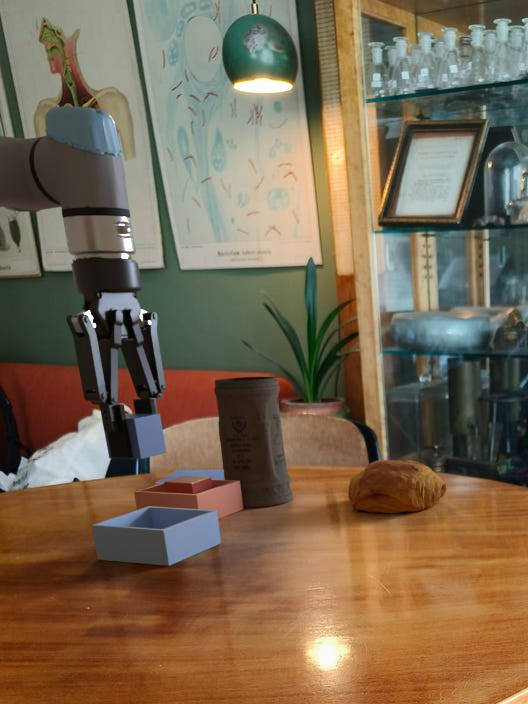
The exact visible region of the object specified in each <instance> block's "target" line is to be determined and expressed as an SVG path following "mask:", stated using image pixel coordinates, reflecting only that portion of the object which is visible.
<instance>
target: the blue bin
mask: <svg viewBox="0 0 528 704" xmlns="http://www.w3.org/2000/svg"><path fill="white" fill-rule="evenodd" d="M90 527H91V532H92V537H93V542H94V547H95V554H96V559H97V561H107V562H108V561H109V562H118V563H119V562H121V563H133V564H142V565H152V566H153V565H154V566H165V567H170V566H173V565H175V564H177V563H179V562H182V561H184V560H186V559H188V558H190V557H193V556H195V555H197V554H200V553H202V552H206V551H207V550H210V549H211V548H214V547H216V546H218V545H221V544H222V539H221V532H220V524H219V519H218V516H217V511H215V510H200V509H184V508H168V507H153V506H148V507H145V508H142V509H139V510H137V509H136V510H134V511H131V512H127V513H124V514H121V515H118V516H115V517H112V518H108V519H106V520H102V521H100V522H96V523H93V524H91V525H90Z"/></svg>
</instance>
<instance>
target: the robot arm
mask: <svg viewBox="0 0 528 704" xmlns="http://www.w3.org/2000/svg"><path fill="white" fill-rule="evenodd" d="M44 119H45V130H44V131H45V134H46V135H43V136H39V137H38V136H37V137H31V138H30V137H29V138H21V137H13V136H5V135H0V208H4V209H6V210H8V211H13V212H21V213H22V212H23V213H24V212H29V213H38V212H40V211H43V210H44V211H45V210H50V209H57V208H61V209H60V210H61V216H62V223H63V227H64V234H65V239H66V243H67V244H66V245H67V249H68V250H67V251H68V254H70V255H71V256H74V258H75V259H74V260H72V262H71V263H70V266H71V270H72V271H71V272H72V276H73V281H74V282H73V283H74V287H75V290H76V292H77V293H79V294H82V297H83V301H82V303H83V304H82V310H81V311H80V312H78V313H76V314H67V316H66V319H65V321H66V323H67V326H68V328H69V330H70V333H71V335H72V339H73V343H74V350H75V355H76V361H77V367H78V372H79V377H80V383H81V388H82V395H83V398H84V400H85V401H87V402H90V403H91V405H93V406H99V410H100V416H101V422H102V427H103V431H104V430H105V432H107V436H108V442H109V447H110V453H111V458H110V459H114V458H131V457H133V456H132V450H131V444H130V439H129V433H128V427H127V421H126V415H125V414H126V409H125V404H123V403H119V349H120V350H121V353H122V356H123V358H124V362H125V364H126V368H127V371H128V373H129V376H130V380H131V381H132V385H133V389H134V390H135V393H136V396H137V398H135V399H132V402H133V408H134V414H159V412H158V407H157V406H158V405H157V399H162V398H163V395H164V393H163V392H165V391H166V389H167V384H166V379H165V372H164V367H163V360H162V355H161V354H162V353H161V348H160V342H159V335H158V320H159V317H158V314H157V312H156V311H146V310H144V309H142V307H141V303H140V302H139V300H138V297H137V293H139V292H141V291H142V288H143V285H142V279H141V273H140V266H139V262H137V260H136V259H132V255H135V254H136V252H137V250H136V245H135V244H136V243H135V238H134V233H133V228H132V227H133V226H132V220H131V211H130V203H129V197H128V191H127V184H126V183H127V182H126V177H125V171H124V170H125V169H124V162H123V151H122V150H121V145H120V141H119V136H118V132H117V126H116V122H115V121H114V119H113V116H112V115H110V113H108V112H106V111H104V110H102V109H98V108H93V107H87V106H57V107H53V108H50V109H48V111H47V112H46V113H45V116H44Z"/></svg>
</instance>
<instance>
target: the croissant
mask: <svg viewBox="0 0 528 704" xmlns="http://www.w3.org/2000/svg"><path fill="white" fill-rule="evenodd" d="M446 493H447V484H445V481H444V480H443V478H441V477H440V476H439V475H438V474H437V473H436V472H435V471H433V470H432V468H430V467H429V466H428V465H426V464H424V463H421V462H418V461H416V460H407V459H399V460H398V459H397V460H395V459H390V460H388V459H387V460H386V459H385V460H383V459H382V460H379V459H377V460H374V461H371V462H369V463H368V465H367V466H366V467H365V468H364V469H363V470H361V471H360V472H359V473H357V474H355V475H353V476H352V477H351V479H350V481H349V485H348V493H347V494H348V500H349V501H350V503H352V504H353V505H354V508H355V510H357V511H364V512H368V513H385V514H399V513H406V512H409V513H410V512H413V513H415V512H419V511H421V510H422V511H424V510H425V509H427V508H430V507H433V506H435V505H437V504H438V503H440V502H441V501H442V499H443V497H444V496H445V495H446Z"/></svg>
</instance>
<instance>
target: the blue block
mask: <svg viewBox="0 0 528 704" xmlns="http://www.w3.org/2000/svg"><path fill="white" fill-rule="evenodd" d="M125 415H126V421H127V427H128V433H129V439H130V444H131V450H132V456H133V457H131V458H113V459H115V460H117V459H119V460H120V459H121V460H143V459H147V458H150V457H155V456H159V455H162V454H167V448H166V441H165V436H164V435H165V434H164V430H163V429H164V428H163V424H162V423H163V422H162V417H161V413H158V414H135V413H125ZM103 432H104V437H105V444H106V449H107V453H108V454H107V455H108V458H109V459H112V458H111V453H110V447H109V442H108V436H107V432H105V430H104V429H103Z"/></svg>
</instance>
